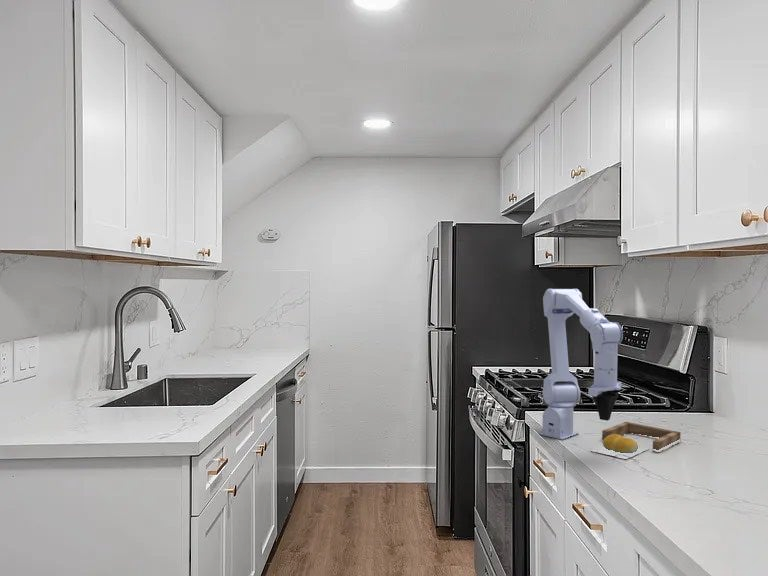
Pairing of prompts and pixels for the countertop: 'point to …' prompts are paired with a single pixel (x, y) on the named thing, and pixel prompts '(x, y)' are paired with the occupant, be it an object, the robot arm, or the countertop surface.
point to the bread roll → (620, 444)
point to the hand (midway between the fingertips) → (604, 419)
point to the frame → (644, 433)
